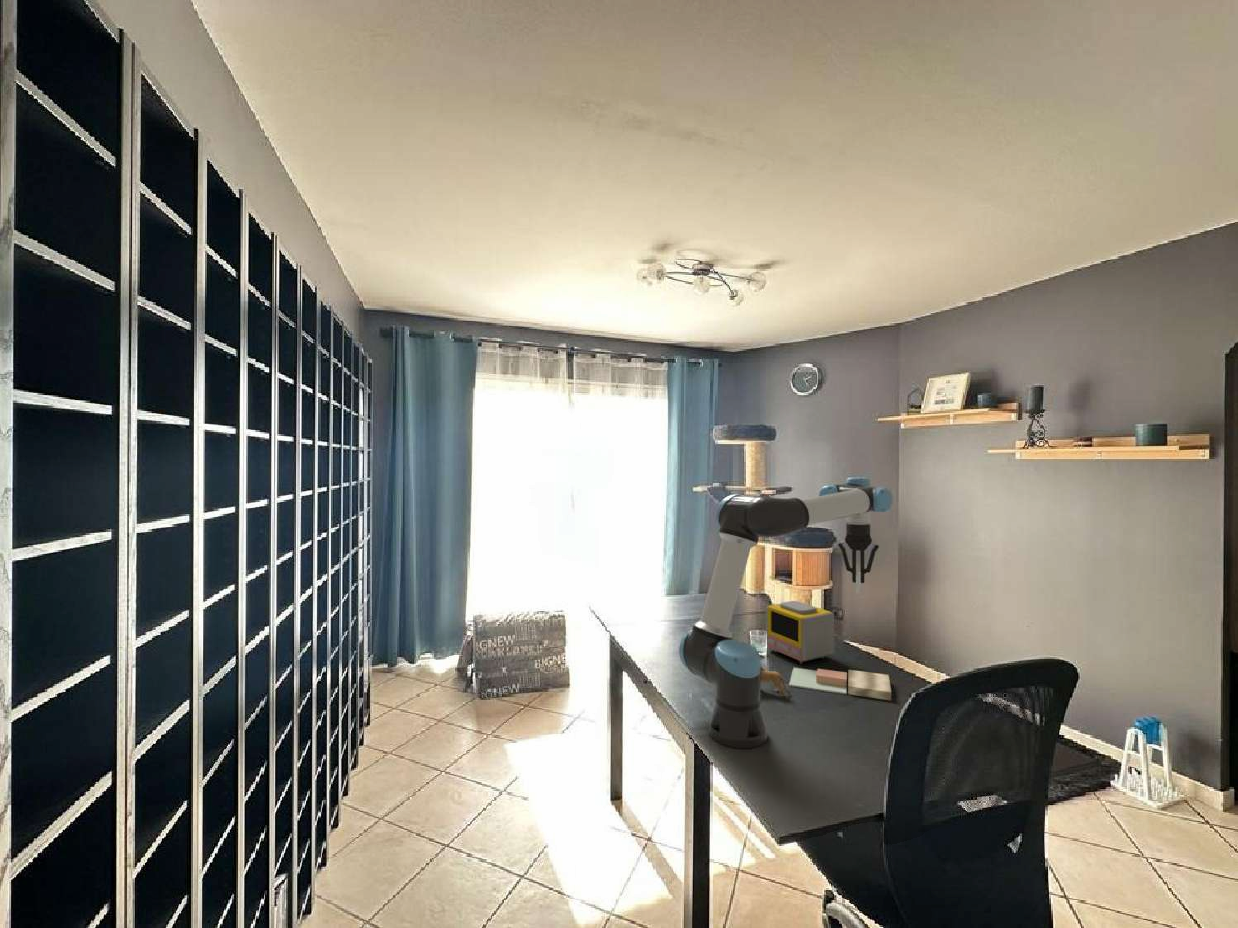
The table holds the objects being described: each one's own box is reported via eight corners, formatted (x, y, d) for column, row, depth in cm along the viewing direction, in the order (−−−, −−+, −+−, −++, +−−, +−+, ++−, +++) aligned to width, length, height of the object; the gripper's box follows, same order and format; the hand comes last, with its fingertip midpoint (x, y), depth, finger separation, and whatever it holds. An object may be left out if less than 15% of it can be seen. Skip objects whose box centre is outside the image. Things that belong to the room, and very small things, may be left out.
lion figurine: (741, 691, 176) (741, 662, 176) (744, 684, 181) (743, 657, 181) (790, 698, 171) (790, 669, 171) (791, 691, 176) (791, 662, 176)
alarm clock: (763, 650, 212) (763, 601, 212) (795, 643, 219) (795, 596, 219) (802, 668, 195) (802, 615, 194) (835, 659, 202) (835, 608, 201)
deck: (848, 694, 174) (848, 686, 174) (848, 676, 187) (848, 669, 187) (891, 700, 169) (891, 692, 169) (888, 682, 182) (888, 674, 182)
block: (816, 682, 181) (816, 675, 181) (817, 675, 187) (817, 668, 187) (846, 686, 178) (846, 679, 178) (846, 679, 183) (846, 672, 183)
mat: (789, 685, 180) (789, 684, 180) (793, 668, 194) (793, 667, 194) (846, 694, 173) (846, 692, 173) (846, 676, 187) (846, 674, 187)
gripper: (837, 523, 189) (837, 593, 190) (879, 525, 184) (879, 596, 185) (837, 520, 196) (838, 588, 197) (878, 522, 191) (879, 591, 192)
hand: (858, 592), depth 191 cm, fingers closed
